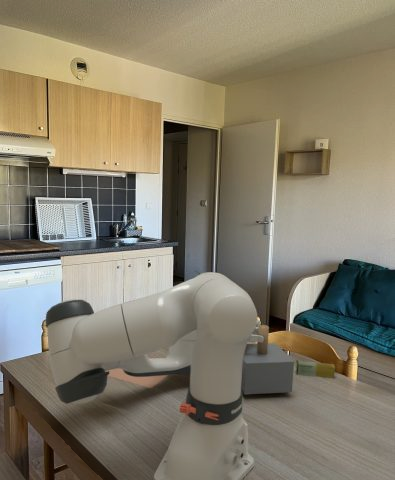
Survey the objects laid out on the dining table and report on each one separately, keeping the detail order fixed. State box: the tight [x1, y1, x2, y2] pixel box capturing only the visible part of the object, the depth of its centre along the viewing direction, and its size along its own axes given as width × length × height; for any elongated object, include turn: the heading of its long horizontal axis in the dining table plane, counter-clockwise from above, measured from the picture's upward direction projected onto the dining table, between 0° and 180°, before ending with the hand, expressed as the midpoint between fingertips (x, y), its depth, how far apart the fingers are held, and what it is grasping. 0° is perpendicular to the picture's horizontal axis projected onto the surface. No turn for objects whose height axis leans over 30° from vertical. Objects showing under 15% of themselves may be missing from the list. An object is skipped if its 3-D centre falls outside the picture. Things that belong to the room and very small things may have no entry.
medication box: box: [295, 359, 336, 379], centre depth 127 cm, size 12×3×4 cm, turn 81°
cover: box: [241, 324, 295, 395], centre depth 116 cm, size 14×14×17 cm
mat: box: [105, 356, 169, 389], centre depth 125 cm, size 18×18×1 cm
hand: (265, 336), depth 115 cm, fingers closed on cover, 3 cm apart
